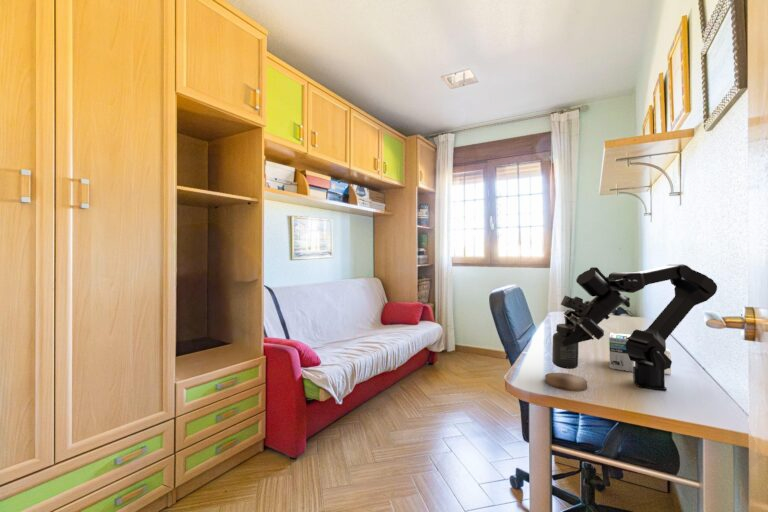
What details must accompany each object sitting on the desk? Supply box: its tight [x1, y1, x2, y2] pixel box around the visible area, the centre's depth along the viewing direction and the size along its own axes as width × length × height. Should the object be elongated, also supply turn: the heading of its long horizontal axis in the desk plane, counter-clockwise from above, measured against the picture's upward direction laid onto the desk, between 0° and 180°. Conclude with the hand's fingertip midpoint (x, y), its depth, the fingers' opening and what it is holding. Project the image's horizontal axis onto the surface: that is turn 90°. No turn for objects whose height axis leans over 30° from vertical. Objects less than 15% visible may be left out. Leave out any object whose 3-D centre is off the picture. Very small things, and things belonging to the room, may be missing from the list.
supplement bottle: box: [551, 323, 580, 370], centre depth 98 cm, size 7×7×12 cm
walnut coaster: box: [544, 372, 588, 392], centre depth 97 cm, size 11×11×2 cm
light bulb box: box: [608, 331, 635, 373], centre depth 114 cm, size 11×7×11 cm, turn 143°
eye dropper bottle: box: [664, 348, 672, 376], centre depth 108 cm, size 4×6×12 cm
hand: (560, 341), depth 98 cm, fingers closed on supplement bottle, 7 cm apart
